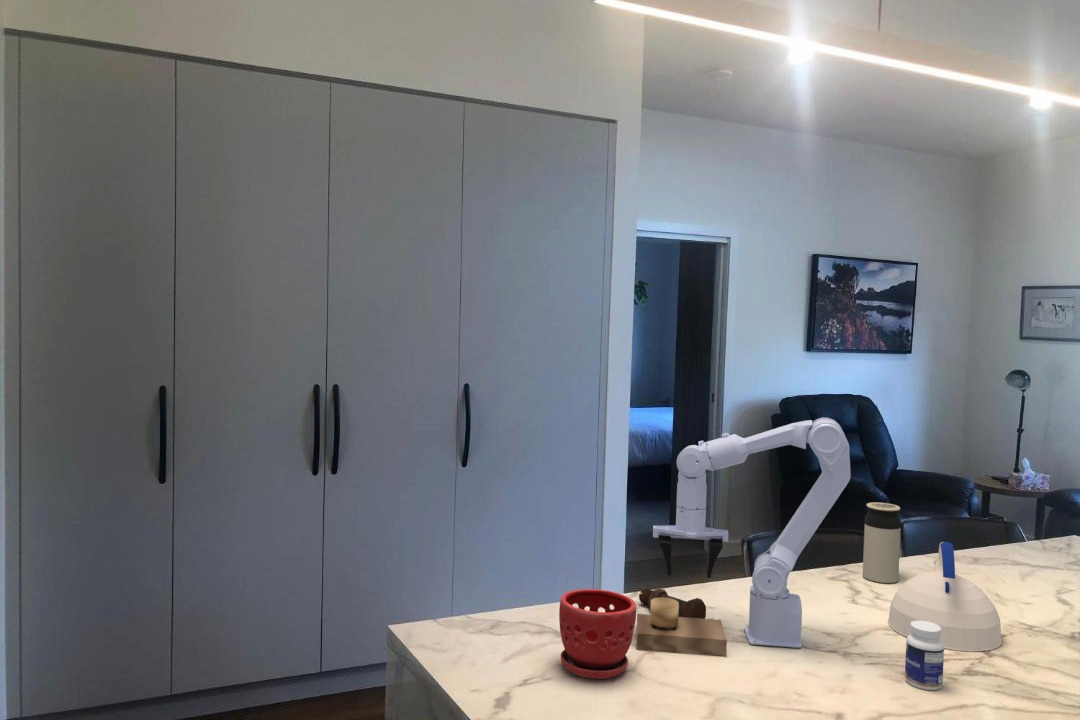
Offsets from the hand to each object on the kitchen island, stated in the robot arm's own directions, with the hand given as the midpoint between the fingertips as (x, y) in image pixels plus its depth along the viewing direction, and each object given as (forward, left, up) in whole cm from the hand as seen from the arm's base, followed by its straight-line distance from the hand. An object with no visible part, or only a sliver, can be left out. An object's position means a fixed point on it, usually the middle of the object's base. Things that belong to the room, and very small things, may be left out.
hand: (688, 575), depth 151 cm
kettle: (-51, -8, -11) cm, 53 cm away
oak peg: (+5, +8, -10) cm, 14 cm away
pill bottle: (-38, +18, -11) cm, 43 cm away
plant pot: (+17, +22, -11) cm, 30 cm away
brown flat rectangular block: (+2, +8, -10) cm, 13 cm away
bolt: (+3, -7, -11) cm, 13 cm away
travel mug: (-49, -41, -11) cm, 65 cm away
